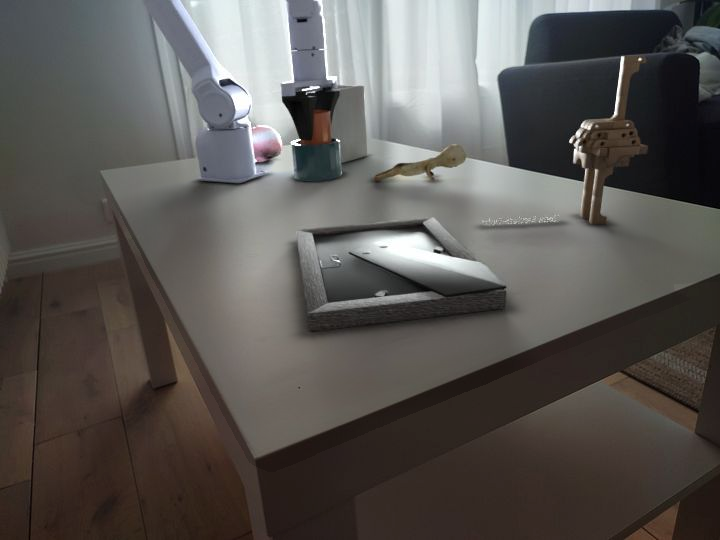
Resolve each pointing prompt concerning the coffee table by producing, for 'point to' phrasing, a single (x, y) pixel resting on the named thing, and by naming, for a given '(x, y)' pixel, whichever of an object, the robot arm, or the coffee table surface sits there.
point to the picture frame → (390, 274)
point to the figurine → (427, 164)
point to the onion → (265, 143)
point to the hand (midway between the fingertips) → (315, 136)
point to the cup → (320, 129)
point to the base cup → (317, 161)
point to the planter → (350, 122)
